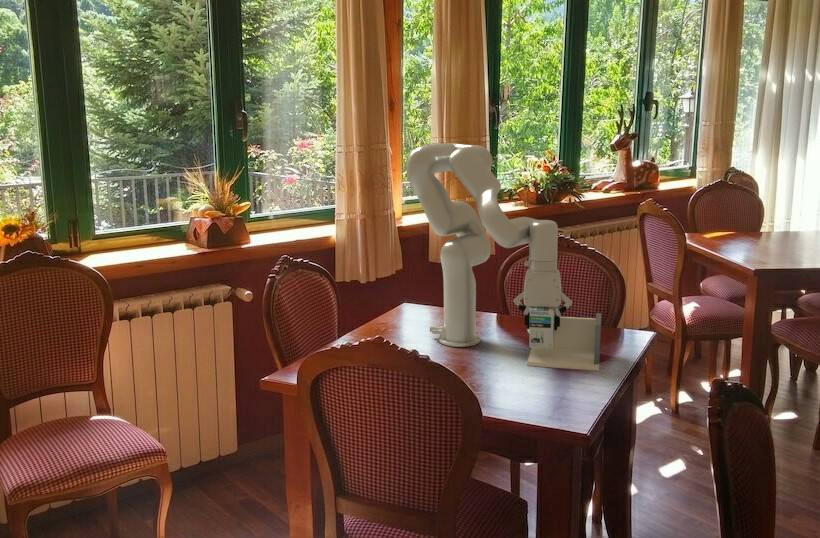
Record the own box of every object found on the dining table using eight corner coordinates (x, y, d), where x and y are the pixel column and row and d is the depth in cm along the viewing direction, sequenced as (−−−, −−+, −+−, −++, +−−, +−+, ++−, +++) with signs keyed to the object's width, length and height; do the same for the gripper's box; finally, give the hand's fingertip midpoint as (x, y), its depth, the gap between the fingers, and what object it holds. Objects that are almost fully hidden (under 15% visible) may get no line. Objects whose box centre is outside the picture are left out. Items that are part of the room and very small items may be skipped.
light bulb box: (553, 349, 216) (554, 310, 214) (528, 348, 218) (529, 309, 215) (554, 337, 226) (555, 301, 224) (530, 336, 228) (531, 300, 226)
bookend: (593, 364, 214) (595, 324, 212) (594, 350, 226) (596, 313, 223) (599, 364, 214) (600, 325, 212) (599, 350, 225) (601, 313, 223)
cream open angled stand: (527, 365, 217) (528, 329, 215) (532, 348, 231) (533, 315, 229) (598, 370, 213) (600, 334, 211) (599, 353, 227) (601, 318, 225)
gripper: (509, 267, 216) (509, 330, 220) (575, 269, 212) (573, 333, 216) (512, 262, 223) (512, 323, 227) (576, 263, 219) (574, 326, 223)
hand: (542, 327), depth 221 cm, fingers closed on light bulb box, 6 cm apart
